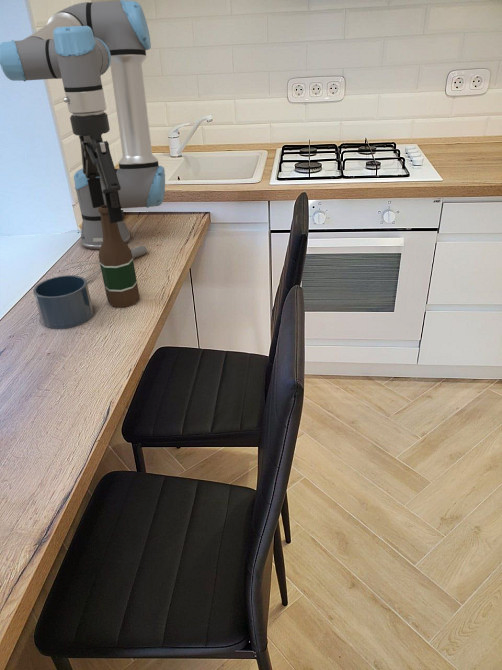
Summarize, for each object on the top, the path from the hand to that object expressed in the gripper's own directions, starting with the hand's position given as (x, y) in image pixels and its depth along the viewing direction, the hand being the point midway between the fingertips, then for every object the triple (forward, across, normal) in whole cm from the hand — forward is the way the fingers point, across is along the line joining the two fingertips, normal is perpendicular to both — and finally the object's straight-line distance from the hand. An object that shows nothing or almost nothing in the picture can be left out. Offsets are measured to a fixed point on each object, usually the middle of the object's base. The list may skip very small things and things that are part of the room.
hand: (107, 214), depth 119 cm
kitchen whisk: (+22, -21, +2) cm, 31 cm away
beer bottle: (+22, 0, 0) cm, 22 cm away
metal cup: (+22, 0, -14) cm, 26 cm away
